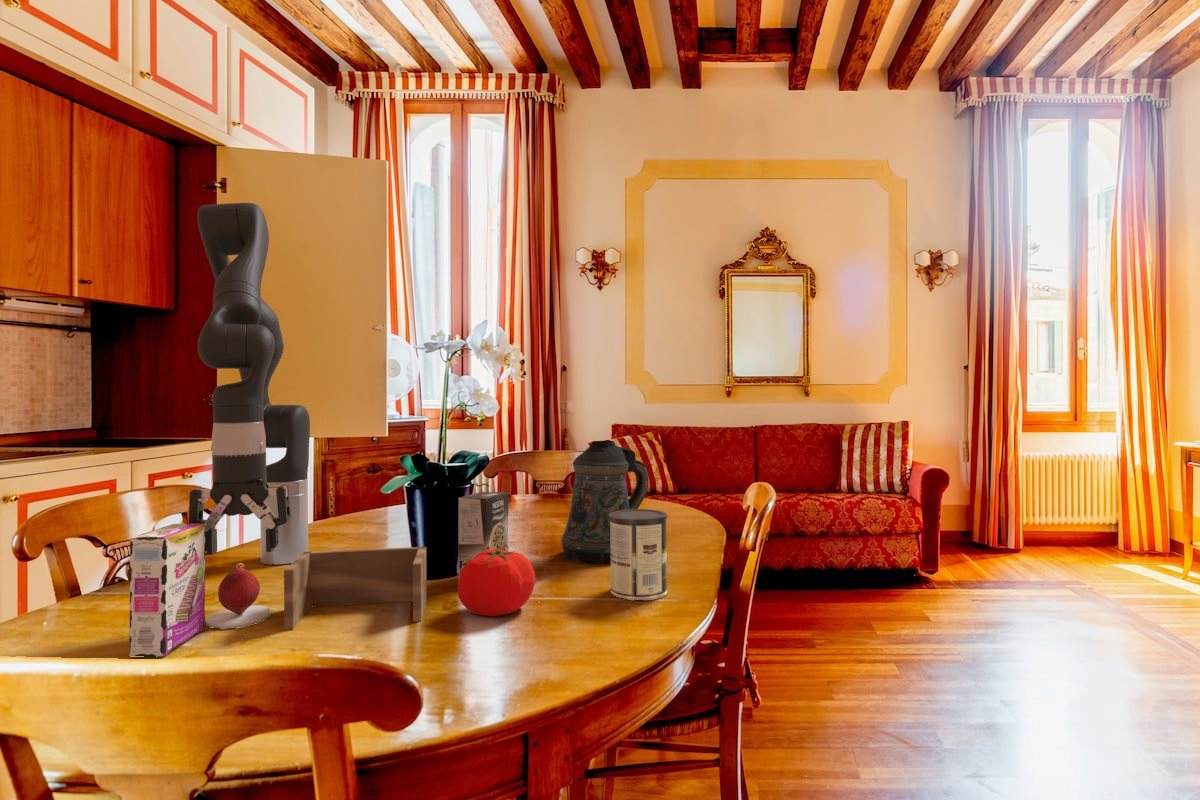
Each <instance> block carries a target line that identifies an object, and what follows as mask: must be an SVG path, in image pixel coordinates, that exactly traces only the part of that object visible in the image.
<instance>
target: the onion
mask: <svg viewBox="0 0 1200 800" xmlns="http://www.w3.org/2000/svg"><path fill="white" fill-rule="evenodd" d="M217 588H218V591H217V597H218V601H219V603H220V605H221V606H222V607H223V608H224V609H228V610H230V611H232V612H234V613H236V614H242V613H243V612H244V611H245V610H246V609H247V608H248V607H249V606H251V605H254V603H255V602H256V600H257V599H258V597H259V595H260V591H261V586H260V582H259V580H258V579H257V577H256V575H254V574H253V573H252V572H251V571H249V570H247V569H246V568H245V564H244V563H242V562H241V563H237V564H236V565H235V567H234V568H233V569H232V570H231V571H230V572H228V573H227V574H226V575H225V577H224V578H222V580H221V582H220V583H219V586H218V587H217Z"/></svg>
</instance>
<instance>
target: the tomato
mask: <svg viewBox="0 0 1200 800" xmlns="http://www.w3.org/2000/svg"><path fill="white" fill-rule="evenodd" d="M480 549H481V548H480ZM482 550H484V549H482ZM535 585H536V573H535V569H534V567H533V565H532V562H531V561H530V560H529V559H528V558H527V557H526V556H525V555H524V554H522V553H519V552H518V551H517V550H516V551H515V550H514V551H509V552H508V551H505V550H501V549H500V548H497V549H487V550H484V551H482V552H481V553H479V554H477V555H475V557H474V558H473V559H471V560H470V561H468V562H467V563H466V564H465V566H464V567H463V569H462V570H461V571H460V576H459V581H458V582H457V596H458V599H459V601H460V603H461V604H462V605H463V606H464V607H465V608H466V610H468V611H470V612H471V613H473V614H475V615H482V616H487V617H491V618H492V617H498V616H503V615H508V614H511V613H514V612H517V611H518V610H519V609H521V608H522V607H523V606H524V605H525V604H526V603H527V602H528V601H529V600H530V598H531V596H532V594H533V591H534V588H535Z"/></svg>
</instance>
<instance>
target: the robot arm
mask: <svg viewBox="0 0 1200 800" xmlns="http://www.w3.org/2000/svg"><path fill="white" fill-rule="evenodd" d="M196 217H197V220H196V221H197V225H198V231H199V234H200V238H201V242H202V244H203V247H204V250H205V254H206V256H207V260H208V262H209V265H210V267H211V271H212V275H213V278H214V280H215V282H214V285H213V294H212V295H213V296H212V311H211V312H210V315H209V317H208V318H207V320H206V322H205V324H204V326H203V328H202V330H201V332H200V333H199V336H198V339H197V352H198V353H197V355H198V357H199V358H200V360H201V362H203V364H205V365H206V366H207V367H209V368H212V369H221V370H222V369H224V370H225V369H227V370H228V369H232V370H233V369H234V370H236V369H238V372H239V376H240V380H241V381H237V382H232V383H226V384H221V385H218V386H217V387H215V388H214V390H213V394H212V419H213V420H212V421H213V425H212V426H213V427H212V433H211V434H212V435H211V445H210V450H211V457H212V458H211V463H212V465H211V467H212V471H211V472H212V473H211V474H212V487H211V488H210V489H207V488H203V487H197V488H194V489H193V490H191V491H189V503H188V505H189V506H188V523H205V524H206V525H205V553H207V554H206V555H207V556H214V555H215V554H217V553H218V529H217V528H215V527H216V525H218V523H219V522H220V521H221V519H222V518H223V517H224V516H225V515H227V516H228V517H231V516H236V515H242V516H250V515H252V514H253V515H254V516H255V517H256V518H258V519H259V520H260V563H261V564H265V565H272V564H273V565H288V564H289V565H290V564H292V563H293V562H294V561H295V560H296V559H297V558H298V557H299V556H300V555H301V554H303V553H304V552H309V507H308V506H309V502H308V500H309V499H308V498H309V497H308V494H309V493H308V489H309V488H308V470H309V461H310V459H309V458H310V437H311V436H310V435H311V420H310V419H311V418H310V413H309V411H308V410H307V408H306V407H305V406H303V405H299V404H272V403H271V401H270V396H269V385H270V382H271V380H272V377H273V374H274V373H275V371H276V369H277V366H279V364H280V361H281V359H282V356H283V353H284V347H285V346H284V345H285V344H284V340H283V336H282V335H283V334H282V331H281V330H282V329H281V325H280V322H279V318H278V316H277V314H276V313H275V311H274V310H273V308H271V307H270V305H269V304H268V303H267V302H266V301H265V300H264V299H262V297H261V296H262V294H261V290H262V289H261V287H262V279H263V274H264V270H265V267H266V261H267V258H268V257H267V256H268V252H269V246H270V245H269V244H270V235H269V234H270V233H269V227H268V223H267V218H266V216H265V213H264V211H263V209H262V208H261V206H259V205H258V204H257V203H252V202H236V203H232V202H230V203H229V202H228V203H214V204H204V205H203V204H202V205H201V206H200V207H198V210H197V215H196ZM229 256H236V257H235V258H234V259H233V260H232V261H231V259H230V257H229ZM267 449H286V450H285V454H284V456H283V457H282V458H281V459H279V460H277V461H276V462H273V463H271V464H270V463H269V464H267ZM209 497H210V499H211V500H212V501H213V502H214V503H215V505H216V506H215V507H214V509H213V510H212V511H211V513H210V514H209V515H208V518H207V519H204V510H205V509H204V508H205V507H204V506H205V502H207V501H208V499H209Z"/></svg>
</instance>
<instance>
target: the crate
mask: <svg viewBox="0 0 1200 800" xmlns="http://www.w3.org/2000/svg"><path fill="white" fill-rule="evenodd" d="M427 567H428V565H427V546H416V547H415V546H413V547H393V548H392V547H391V548H387V547H386V548H370V549H369V548H367V549H345V550H344V549H342V550H339V549H338V550H319V551H318V550H317V551H308V552H304V553H303V554H301V555H300V556H299V557H298V558H297V559H296V560H295V561H294V562H293V563H290V564H289V565H288V566H287V567H286V568H285V569H283V597H284V598H283V603H284V604H283V607H284V613H283V615H284V616H283V617H284V623H283V624H284V626H283V627H284V630H285V629H286V630H285V631H288V630H287V629H292V630H294V628H295V627H296V626H297V625H298V623H300V621H301V620H302V619H303V617H304V616H305V615H306V613H307V612H308V611H309V610H308V609H310V608H315V607H314V606H320V607H333V606H351V605H369V604H370V605H371V604H386V603H402V602H403V603H404V602H412V622H413V623H415V622H416V623H417V622H422V619H423V615H424V611H425V607H426V603H427V600H428V591H427V589H428V587H427V584H428V583H427V577H428V576H427V569H428V568H427ZM312 606H313V607H312Z"/></svg>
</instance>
